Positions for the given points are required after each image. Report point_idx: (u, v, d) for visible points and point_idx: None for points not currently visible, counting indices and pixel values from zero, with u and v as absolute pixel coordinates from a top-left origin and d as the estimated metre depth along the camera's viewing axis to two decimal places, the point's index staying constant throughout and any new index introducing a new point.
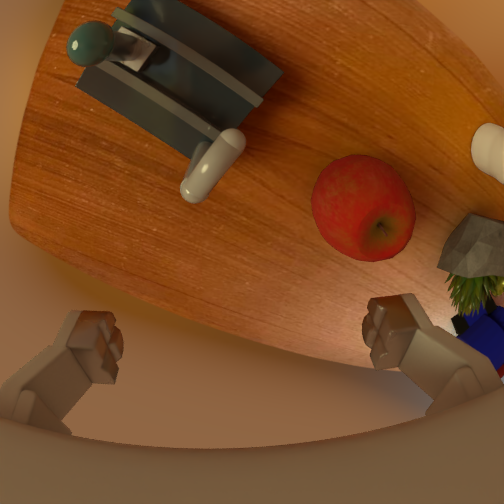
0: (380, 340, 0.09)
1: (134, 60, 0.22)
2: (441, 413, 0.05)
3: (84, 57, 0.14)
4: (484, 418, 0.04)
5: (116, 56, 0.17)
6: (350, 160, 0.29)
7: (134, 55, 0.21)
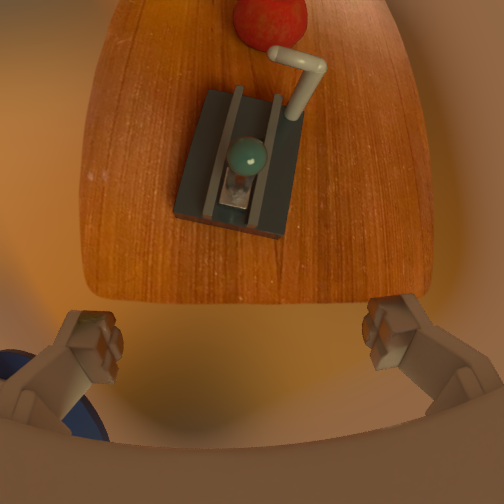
0: (380, 340, 0.09)
1: None
2: (441, 413, 0.05)
3: (260, 144, 0.23)
4: (484, 418, 0.04)
5: None
6: (245, 33, 0.35)
7: None
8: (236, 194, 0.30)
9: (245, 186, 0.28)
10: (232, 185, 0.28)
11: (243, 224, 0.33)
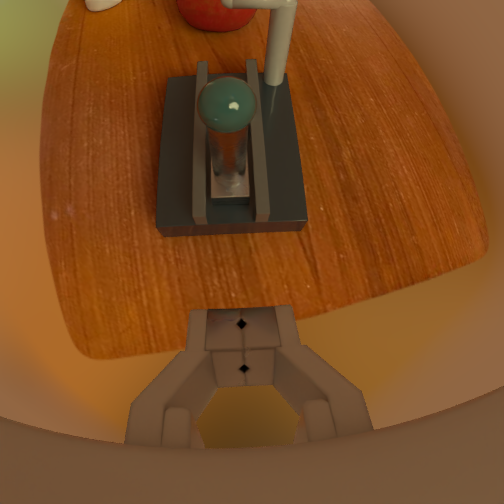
0: None
1: None
2: (441, 413, 0.05)
3: (240, 80, 0.14)
4: (484, 418, 0.04)
5: None
6: (195, 14, 0.29)
7: None
8: (230, 177, 0.22)
9: (238, 158, 0.19)
10: (220, 162, 0.20)
11: (251, 218, 0.25)
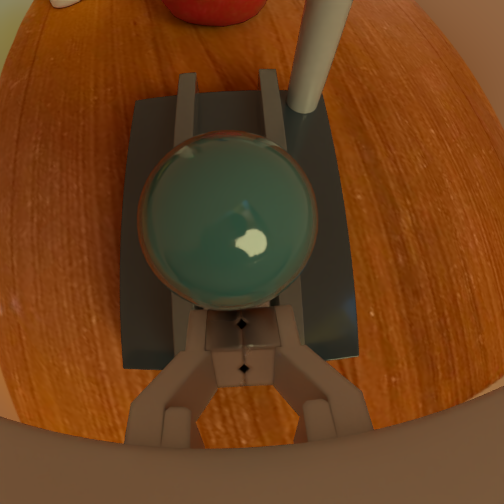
0: None
1: None
2: (441, 413, 0.05)
3: (270, 150, 0.05)
4: (484, 418, 0.04)
5: None
6: (180, 1, 0.19)
7: None
8: None
9: None
10: None
11: None
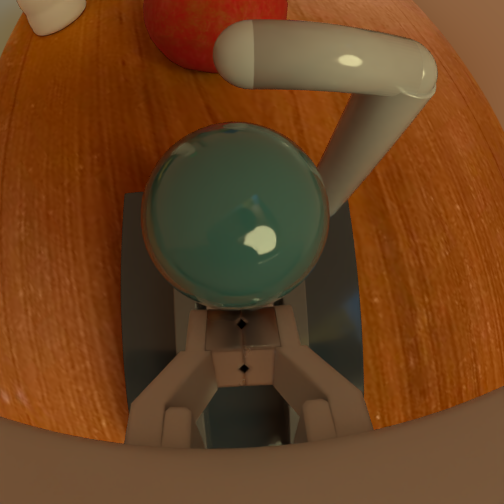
0: None
1: None
2: (441, 413, 0.05)
3: (281, 143, 0.04)
4: (484, 418, 0.04)
5: None
6: (174, 46, 0.17)
7: None
8: None
9: None
10: None
11: None
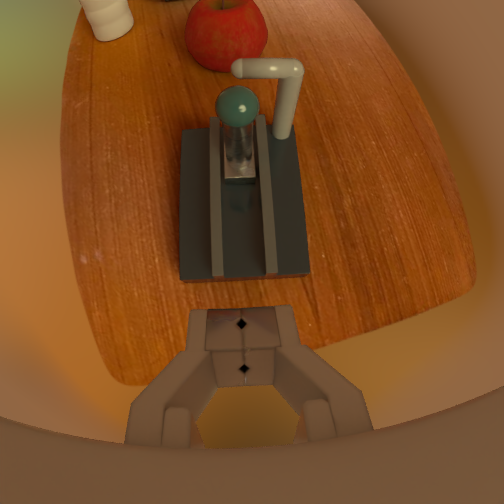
0: None
1: None
2: (441, 413, 0.05)
3: (246, 88, 0.20)
4: (484, 418, 0.04)
5: None
6: (204, 57, 0.33)
7: None
8: (240, 162, 0.27)
9: (246, 146, 0.25)
10: (232, 150, 0.25)
11: (262, 273, 0.29)
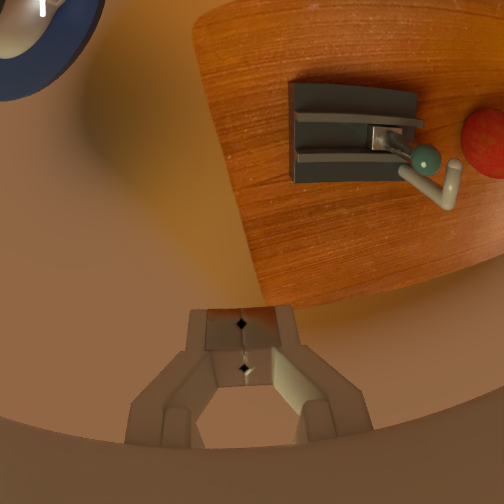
0: None
1: None
2: (441, 413, 0.05)
3: (437, 171, 0.25)
4: (484, 418, 0.04)
5: None
6: (476, 121, 0.32)
7: None
8: (384, 142, 0.31)
9: (396, 152, 0.30)
10: (395, 141, 0.29)
11: (296, 147, 0.34)
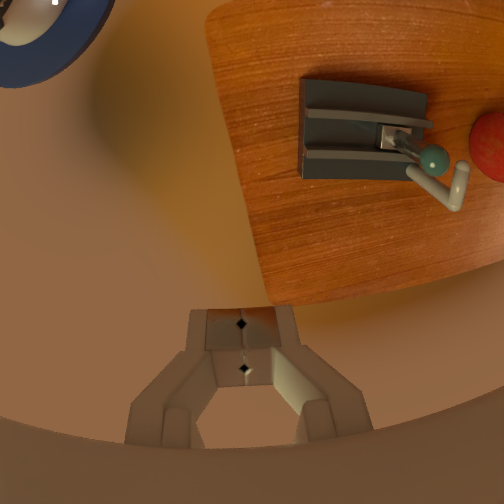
0: None
1: None
2: (441, 413, 0.05)
3: (445, 172, 0.25)
4: (484, 418, 0.04)
5: None
6: (484, 125, 0.32)
7: None
8: (394, 141, 0.31)
9: (405, 152, 0.29)
10: (404, 141, 0.29)
11: (306, 143, 0.34)
